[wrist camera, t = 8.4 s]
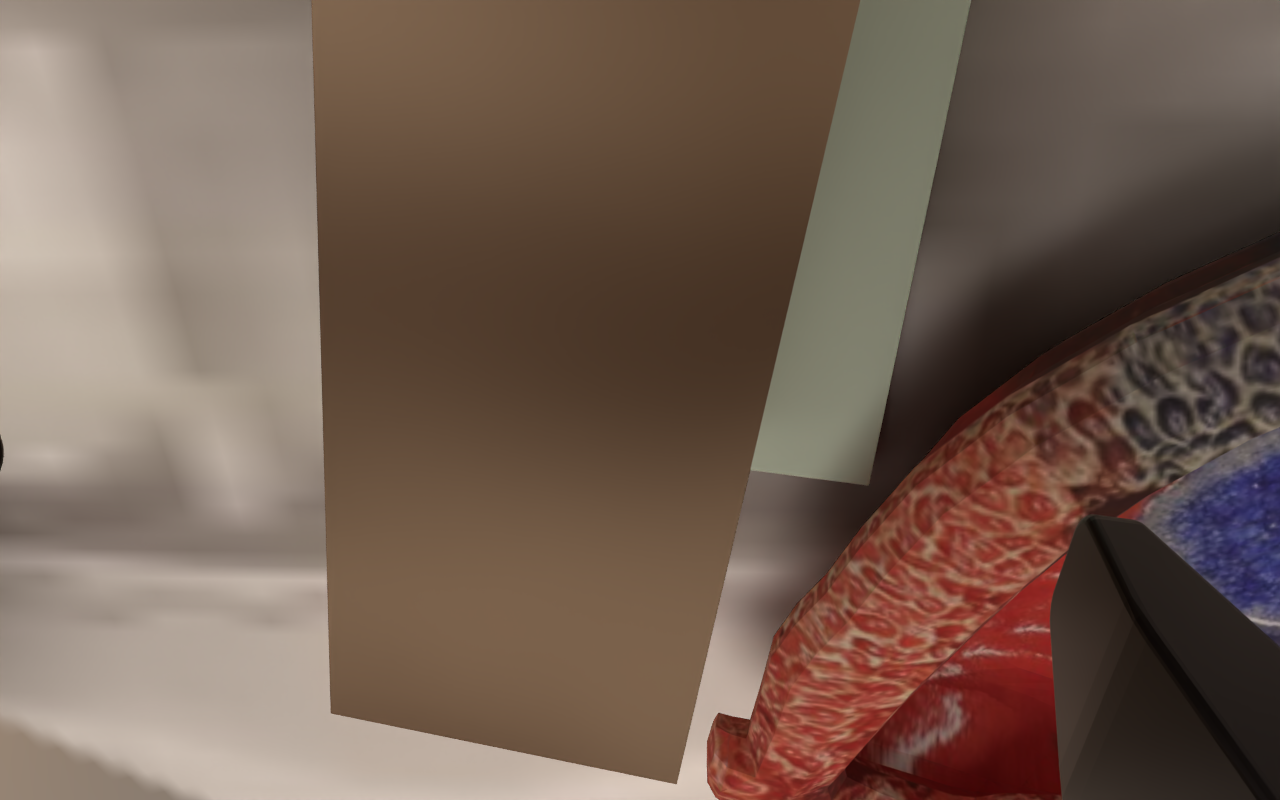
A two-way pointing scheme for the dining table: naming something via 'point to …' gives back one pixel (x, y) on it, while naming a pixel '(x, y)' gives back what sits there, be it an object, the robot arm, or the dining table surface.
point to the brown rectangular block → (552, 347)
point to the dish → (1024, 553)
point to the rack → (862, 242)
